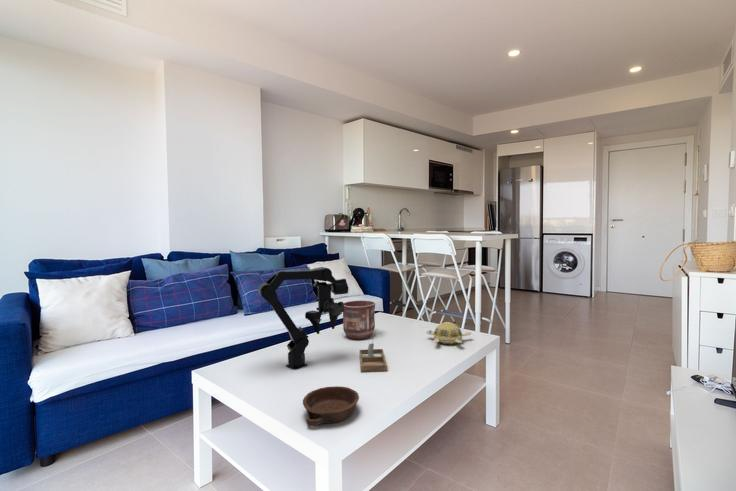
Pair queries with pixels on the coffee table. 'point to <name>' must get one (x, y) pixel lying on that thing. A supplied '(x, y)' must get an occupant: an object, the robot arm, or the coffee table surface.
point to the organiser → (373, 361)
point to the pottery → (359, 319)
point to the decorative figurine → (447, 333)
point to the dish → (330, 404)
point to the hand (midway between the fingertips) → (325, 331)
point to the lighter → (370, 349)
